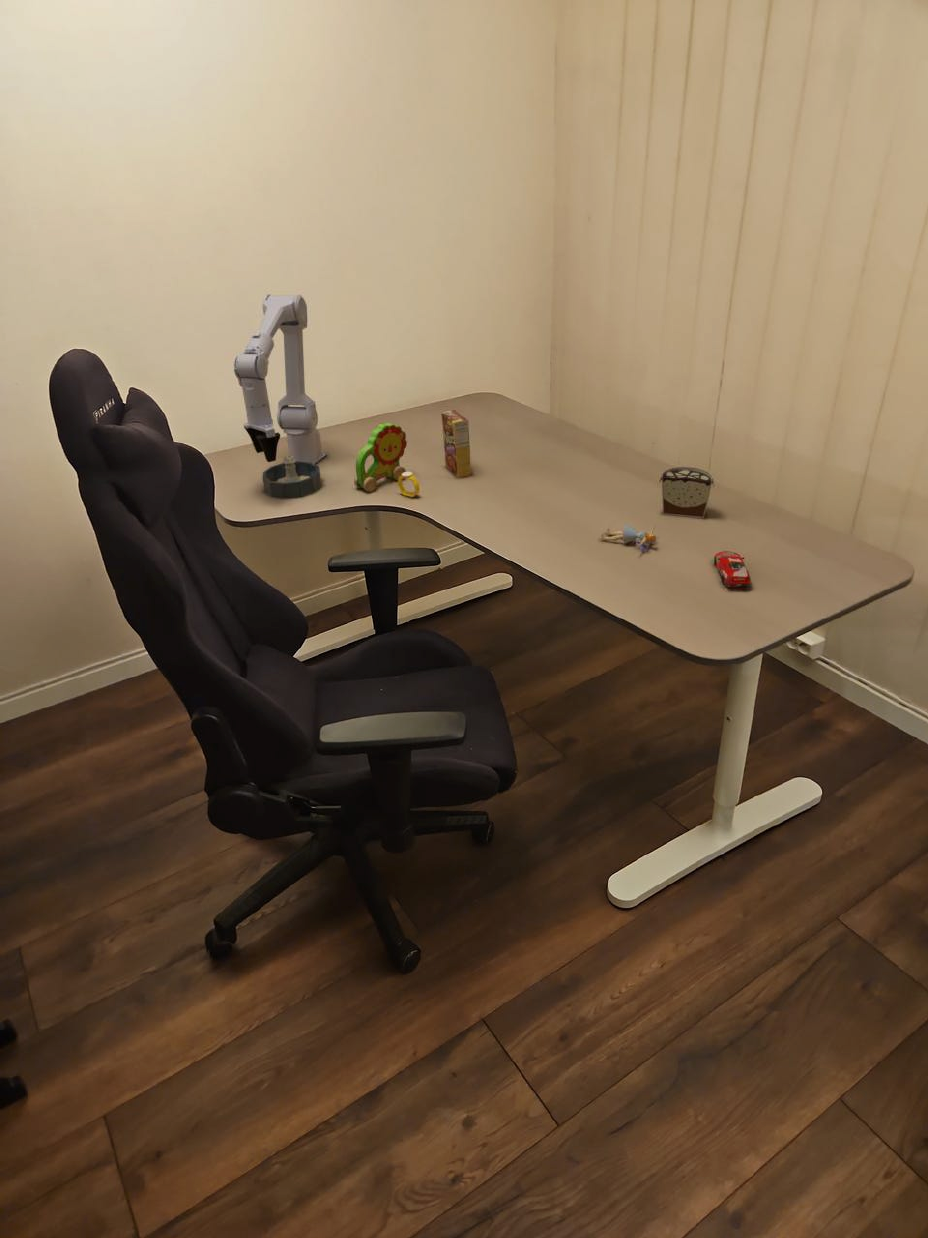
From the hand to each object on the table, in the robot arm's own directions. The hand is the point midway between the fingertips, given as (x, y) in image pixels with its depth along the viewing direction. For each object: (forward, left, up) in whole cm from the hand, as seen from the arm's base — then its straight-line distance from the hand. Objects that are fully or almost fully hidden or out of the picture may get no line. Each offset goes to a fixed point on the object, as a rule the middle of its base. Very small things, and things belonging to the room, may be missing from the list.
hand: (266, 456), depth 222 cm
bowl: (-6, +3, -10) cm, 12 cm away
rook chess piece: (-6, +3, -10) cm, 12 cm away
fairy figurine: (+1, +93, -10) cm, 93 cm away
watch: (-9, +35, -10) cm, 37 cm away
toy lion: (-15, +25, -10) cm, 31 cm away
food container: (-19, +102, -10) cm, 104 cm away
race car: (+9, +116, -10) cm, 117 cm away
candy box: (-27, +41, -10) cm, 50 cm away
